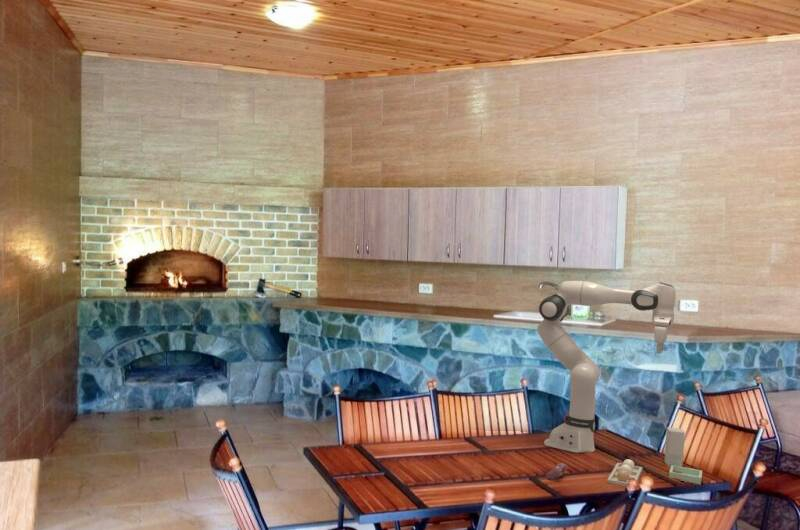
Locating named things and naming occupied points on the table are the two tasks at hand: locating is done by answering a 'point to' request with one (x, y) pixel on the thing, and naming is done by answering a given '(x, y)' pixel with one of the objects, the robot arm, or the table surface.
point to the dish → (686, 474)
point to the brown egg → (622, 476)
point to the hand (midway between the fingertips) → (659, 352)
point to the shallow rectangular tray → (634, 474)
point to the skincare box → (674, 447)
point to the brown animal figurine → (557, 471)
